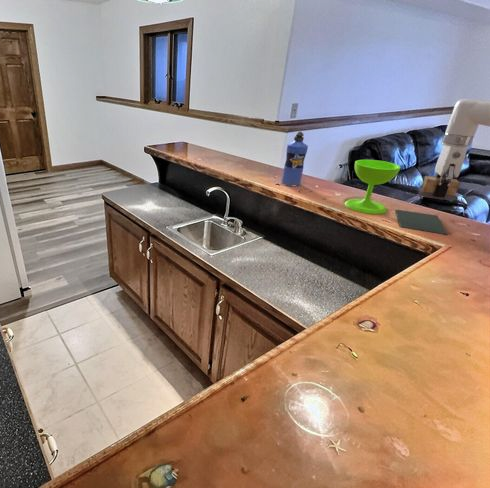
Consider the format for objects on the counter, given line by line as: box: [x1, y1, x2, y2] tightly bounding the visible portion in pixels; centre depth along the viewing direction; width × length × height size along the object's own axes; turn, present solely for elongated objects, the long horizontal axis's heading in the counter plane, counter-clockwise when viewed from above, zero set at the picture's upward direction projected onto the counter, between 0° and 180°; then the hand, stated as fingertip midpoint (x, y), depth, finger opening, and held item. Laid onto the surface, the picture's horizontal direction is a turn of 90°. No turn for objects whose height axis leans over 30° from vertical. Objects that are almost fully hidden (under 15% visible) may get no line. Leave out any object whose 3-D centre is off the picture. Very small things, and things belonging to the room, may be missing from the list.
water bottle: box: [281, 131, 309, 186], centre depth 170 cm, size 9×9×25 cm
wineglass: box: [343, 159, 402, 215], centre depth 142 cm, size 16×16×18 cm
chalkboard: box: [395, 209, 449, 236], centre depth 131 cm, size 14×20×1 cm
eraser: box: [417, 175, 461, 202], centre depth 119 cm, size 10×6×6 cm, turn 65°
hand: (436, 193), depth 120 cm, fingers closed on eraser, 5 cm apart
